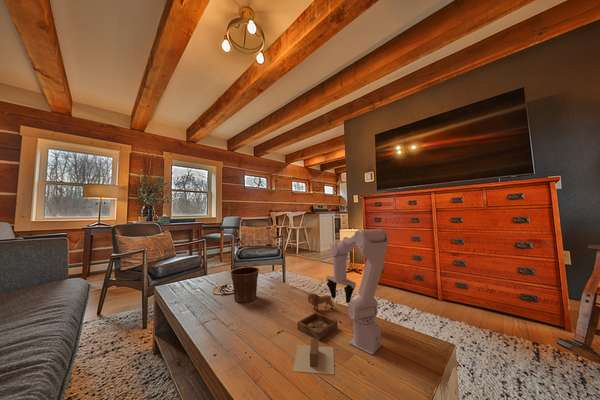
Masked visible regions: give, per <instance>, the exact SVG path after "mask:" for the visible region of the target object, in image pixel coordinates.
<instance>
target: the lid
mask: <svg viewBox="0 0 600 400" xmlns="http://www.w3.org/2000/svg"><path fill="white" fill-rule="evenodd" d="M334 355H335V354H334V346H320V345H319V341H318V339H315V338H311V342H310V345H303V344H302V345H300V344H298V345H297V349H296V353H295V357H294V358H295V359H294V362H293V368H292V371H291V372H293V373H302V374H303V373H306V374H319V375H328V376H330V375H331V376H335V357H334Z"/></svg>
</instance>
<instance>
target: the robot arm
mask: <svg viewBox="0 0 600 400" xmlns="http://www.w3.org/2000/svg"><path fill="white" fill-rule="evenodd" d="M389 241H390V240H389V237H388V234H387V232H386V231H385V229H383V228H373V229H371V228H370V229H369V228H368V229H358V230H356V231H354V234H353V235H352V236H350V237H347V236H345V237H343V238H342V239H341V240H338V242H337V243H336V242H335V243H334V242H333V243H332V244H331V245H330V253H331V255H332V256H333V260H332V261H333V275H328V276H326V282H327V283H326V286H327V287H328V290H329V291H330V297H331V299H336V297H337V284H339V285H343V286H345V287H343V289H344V294H345V302H346V304H347V313H348V317H350V319H351V320H352V327H353V329H352V330H353V331H352V333H353V335H352V339H351V340H350V341H348V344H349V345H351V346H353V347H355V348H357V349H360V350H361V351H364V352H365V353H367V354H370V355H374V354H375V353H376V352H377V351H378V349H379V348H381V347H382V345H383V343H382V334H381V333H382V332H381V325H380V324H378V323H377V322H375V318H376V317H377V316H378V311H379V310H378V306H379V303H378V300H377V299H376V298H375V295H376V293H377V292H376V291H377V288H378V284H379V281H380V278H381V275H382V271H383V267H384V265H385V261H386V252H387V248H388V244H389V243H390V242H389ZM356 246H357V247H358V249H359V250H360V253H361V255H362V256H363V257H364V258H366V263H365V267H364V271H363V274H362V277H361V281H360V285H359V288H358V289H359V290H358V292H357V293H356V295H354V296H352V295H353V292H354V290H355V288H356V287H357V286H356V281H355V282H354V281H352V280H350V279H348V277H347V275H348V274H347V260H348V255H349V253H350V252H352V251H353V250H354V249H355V248H356Z"/></svg>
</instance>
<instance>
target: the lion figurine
mask: <svg viewBox="0 0 600 400" xmlns="http://www.w3.org/2000/svg"><path fill="white" fill-rule="evenodd" d="M332 299H333V298H332V296H331V295H327V294H324V295H321V296H320V295H318V294H316V293H314V292H310V293H309V294H308V295H307V301H308V303H309V304H311V305H312V306H313V307H312V310H313V311H315V312H317V313H319V305H322V304H324V303H325V305H324V306H323V308H324V309H325V308H327V307H328V305H329V306H330V310H334V307H335V305H334V303H333V300H332Z"/></svg>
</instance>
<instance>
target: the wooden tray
mask: <svg viewBox="0 0 600 400" xmlns="http://www.w3.org/2000/svg"><path fill="white" fill-rule="evenodd" d="M338 327H339V326H338V320H335V319H333V318H330V317H329V316H326V315H324V314H322V313H319V312H316V311H315V312H314V313H312V314H310V315H308V316H306V317H304V318H302V319H301V320H299V321H297V330H298V331H300V332H302V333H303V334H306V335H307V336H309V337H311V338H312V339H318V342H321V341H322V340H323V339H325V338H326V337H327V336H329V335H330V334H332V333H334V332H335V331H336V330H337V329H338Z"/></svg>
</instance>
